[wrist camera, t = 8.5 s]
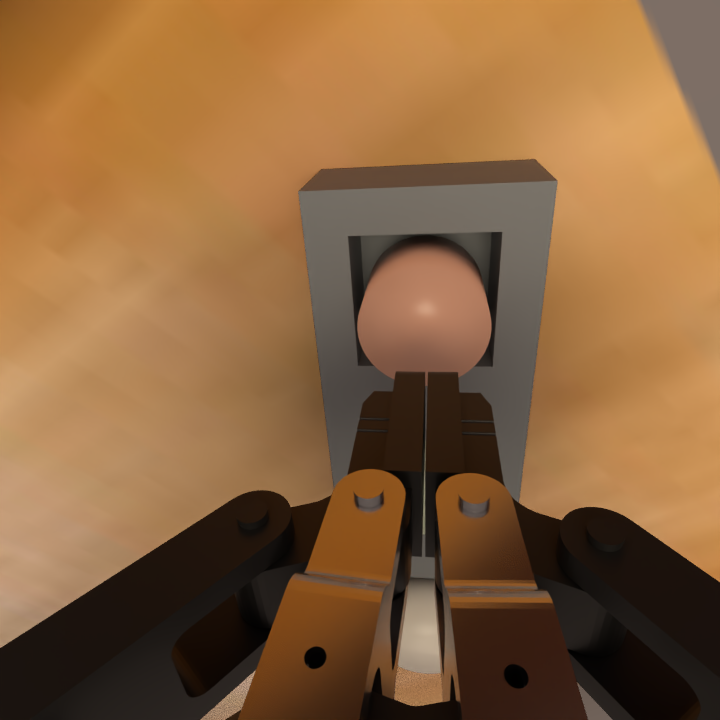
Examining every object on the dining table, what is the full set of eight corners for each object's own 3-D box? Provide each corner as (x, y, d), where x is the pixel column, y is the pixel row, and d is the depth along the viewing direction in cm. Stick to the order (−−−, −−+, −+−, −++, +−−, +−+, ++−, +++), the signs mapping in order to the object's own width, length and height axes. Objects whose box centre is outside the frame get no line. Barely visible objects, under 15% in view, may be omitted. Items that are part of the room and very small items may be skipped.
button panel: (492, 596, 31) (499, 662, 28) (361, 587, 32) (353, 649, 29) (534, 159, 19) (557, 180, 15) (321, 169, 20) (298, 191, 17)
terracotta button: (480, 341, 20) (487, 386, 17) (371, 341, 20) (361, 385, 18) (486, 233, 18) (496, 264, 15) (364, 236, 18) (352, 267, 16)
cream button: (463, 617, 28) (466, 677, 25) (387, 611, 29) (382, 669, 26) (466, 565, 26) (470, 624, 23) (384, 560, 27) (378, 618, 24)
